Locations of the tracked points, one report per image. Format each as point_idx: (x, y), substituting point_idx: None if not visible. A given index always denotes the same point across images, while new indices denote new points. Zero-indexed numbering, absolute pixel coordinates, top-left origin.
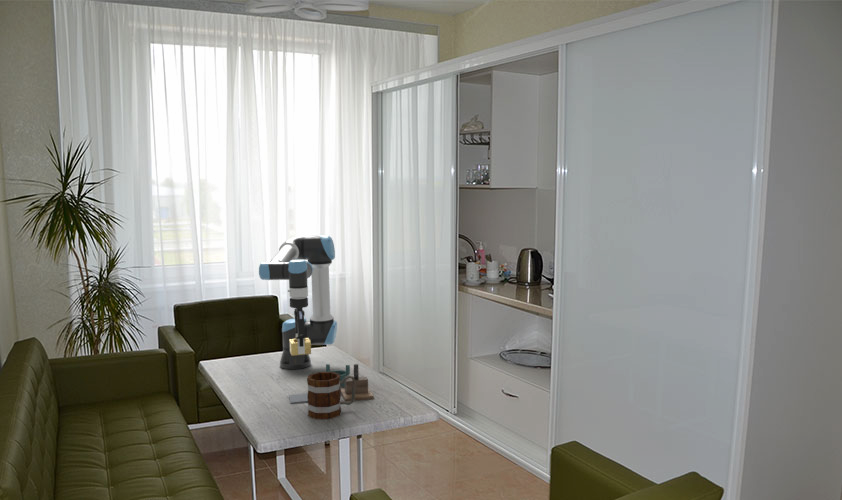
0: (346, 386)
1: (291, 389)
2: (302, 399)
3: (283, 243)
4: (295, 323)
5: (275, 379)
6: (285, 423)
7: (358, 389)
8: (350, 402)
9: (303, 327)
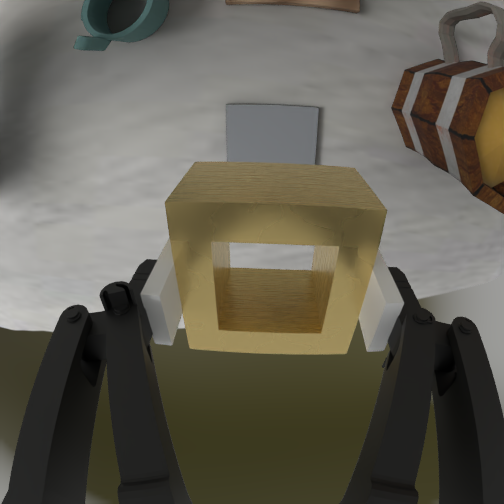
0: None
1: (155, 172)
2: (296, 149)
3: None
4: (94, 418)
5: (60, 215)
6: (452, 226)
7: None
8: (453, 31)
9: (495, 415)
